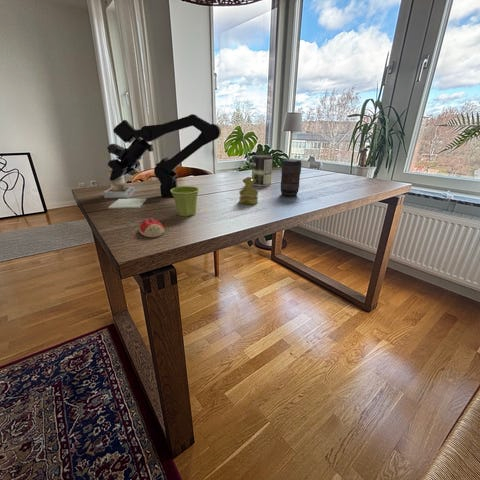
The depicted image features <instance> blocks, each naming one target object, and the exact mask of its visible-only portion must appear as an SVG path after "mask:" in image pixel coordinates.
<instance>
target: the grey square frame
mask: <svg viewBox="0 0 480 480" xmlns="http://www.w3.org/2000/svg"><path fill="white" fill-rule="evenodd" d="M134 193H136V192H135V187H134V186H126V191H112V187H110V188H108V189H106V190H105V191H103V193H102V194H103V197H104V199H129V197H131V196H132V195H133V194H134Z"/></svg>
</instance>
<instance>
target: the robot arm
mask: <svg viewBox="0 0 480 480" xmlns="http://www.w3.org/2000/svg"><path fill="white" fill-rule="evenodd" d="M190 127H193V128H195V129H197V130H198V131H200V133H199V135H198V136H197V137H196V138H195V139H194V140H193V141H191V142H190V143H189V144H187V146H185V147H184V148H183V149H181V150H180V151H179V152H177V153H176V154H175V155H173V156H172V157H171V158H168V156H166V157H164V158H162V159H161V160H160V161H159V162H158V163H155V167H154V169H153V173H154V175H155V177H156V178H157V179H158V181H159V183H160V185H159V188H160V195H161V198H174V197H173V195H172V193H171V191H170V190H171V189H173V188H176V187H178V180H177V179H178V175H179V174H177V173H176V171H175V170H176V168H177V167H178V166H179V165H181V163H183V162H185V160H187V159H188V158H190V157H191V156H192V155H193V154H195V153H196V152H197V151H199V150H200V149H201V148H202V147H203V146H205V145H207V144H209V143H211V142H213V141H215V140H217V139H219V138H220V136H221V134H222V129H221V127H220V126H219V125H218V124H216V123H210V122H208V121H206V120H205V119H203V118H201V117H199V116H198V115H197V114H194V113H193V114H189V115H187V116H185V117H181V118H178V119H175V120H170V121H168V122H165V123H162V124H161V123H160V124H152V125H144V126H141V128H140V129H139V128H138V129H136V128H135V127H134V126H132V125H131V124H130V123H129V121H128V120H127V119H123V120H122V121H121V122H119V123H118V124H117V125H115V126H114V128H113V133H114V134H115V135H116V136H117V137H118V138H120V139H121V140H122V142H123V143H125V144H126V143H129V144H130V145H129V146H128V147H127V148H125V147H123V146H121V145H119V144H116V143H111V144H108V146H107V147H106V149H107V152H108V153H109V154H112V155H114V156H117V159H116V158H113V159H110V160H109V161H108V162H107V166H108V167H110V168H109V169H112V173H111V176H110V177H109V181H110V180H111V181H113V180H115V179H116V178H118V177H120V176H122V175H124V176H125V175H127V174H129V173H131V172H133V171H135V170H136V169H139V167H140V166H141V162H140V160H141V159H142V157H143V155H144V154H145V153H146V152H147V151H148V152H150V153H151V152H154V148H153V146H154V145H153V144H152V143H151V144H149V143H150V142H155V141H157V140H158V139H161V138H162V137H165V136H166V135H168V134H170V133H173V132H177V131H180V130H184V129H187V128H190Z"/></svg>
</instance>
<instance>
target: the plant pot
mask: <svg viewBox="0 0 480 480" xmlns="http://www.w3.org/2000/svg"><path fill="white" fill-rule="evenodd" d="M170 191H171V193H172V195H173V197H172V198H173V199H174V200H173V201H174V203H175V208H176V210H177V214H178V215H179V216H181V217H189V216H194V215H196V213H197V201H198V200H197V199H198V198H197V197H198V194H199V192H200V188H199V187H196V186H191V185H190V186H189V185H186V186H177V187H176V188H173V189H171V190H170Z"/></svg>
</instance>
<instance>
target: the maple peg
mask: <svg viewBox="0 0 480 480" xmlns="http://www.w3.org/2000/svg"><path fill="white" fill-rule="evenodd" d="M107 171H108V176H109V178H110V176H111V173H112V168H108V170H107ZM125 180H126V179H125V175H122V176H120V177H118V178H116V179H115V180H113V181H111V180H110V179H109V181H110V182H109V183H110V186H111V187H112V191H126V187H127V186H126V181H125ZM111 187H110V188H111Z"/></svg>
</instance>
